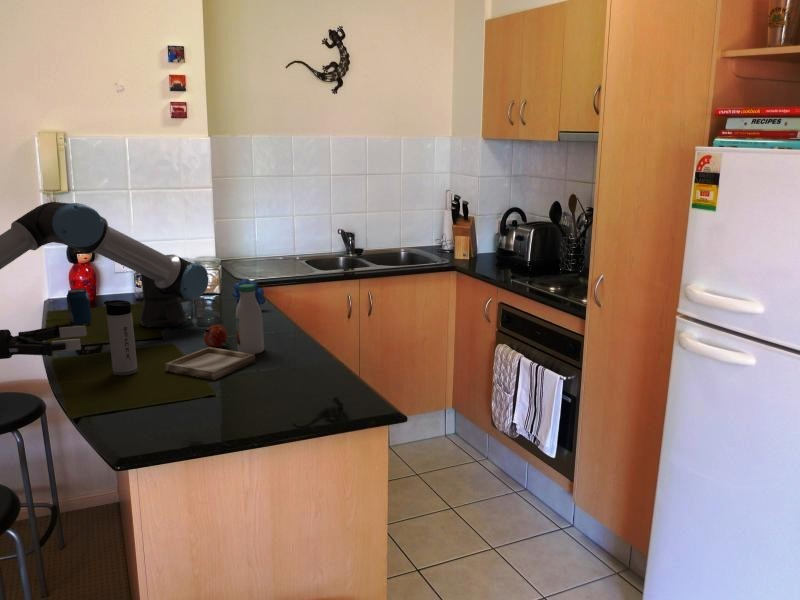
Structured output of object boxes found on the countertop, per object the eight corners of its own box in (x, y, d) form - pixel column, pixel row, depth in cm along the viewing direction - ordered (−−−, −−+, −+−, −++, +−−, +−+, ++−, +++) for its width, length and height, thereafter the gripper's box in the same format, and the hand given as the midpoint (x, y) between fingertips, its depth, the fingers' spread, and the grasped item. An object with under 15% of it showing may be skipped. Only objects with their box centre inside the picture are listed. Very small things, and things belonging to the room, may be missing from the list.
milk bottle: (269, 348, 214) (265, 283, 209) (255, 356, 207) (251, 288, 202) (246, 346, 216) (242, 281, 212) (232, 354, 209) (228, 287, 205)
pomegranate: (219, 349, 221) (192, 335, 215) (232, 330, 222) (206, 315, 216) (226, 358, 215) (199, 344, 209) (240, 338, 216) (214, 323, 210)
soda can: (96, 322, 247) (92, 288, 245) (85, 327, 241) (81, 292, 238) (76, 321, 248) (72, 288, 245) (65, 327, 241) (61, 292, 239)
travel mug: (115, 369, 197) (108, 298, 192) (140, 368, 198) (133, 297, 193) (108, 376, 191) (100, 303, 186) (134, 375, 192) (126, 303, 187)
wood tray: (165, 371, 195) (165, 363, 194) (208, 354, 209) (208, 346, 209) (214, 380, 187) (213, 372, 187) (255, 361, 202) (254, 354, 201)
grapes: (231, 314, 255) (229, 281, 252) (234, 310, 262) (232, 278, 259) (264, 313, 256) (262, 280, 253) (266, 309, 262) (264, 277, 260)
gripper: (5, 345, 195) (89, 338, 201) (-17, 374, 172) (79, 364, 178) (1, 319, 194) (86, 312, 200) (-21, 344, 170) (75, 335, 177)
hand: (83, 337), depth 189 cm, fingers open, 13 cm apart
